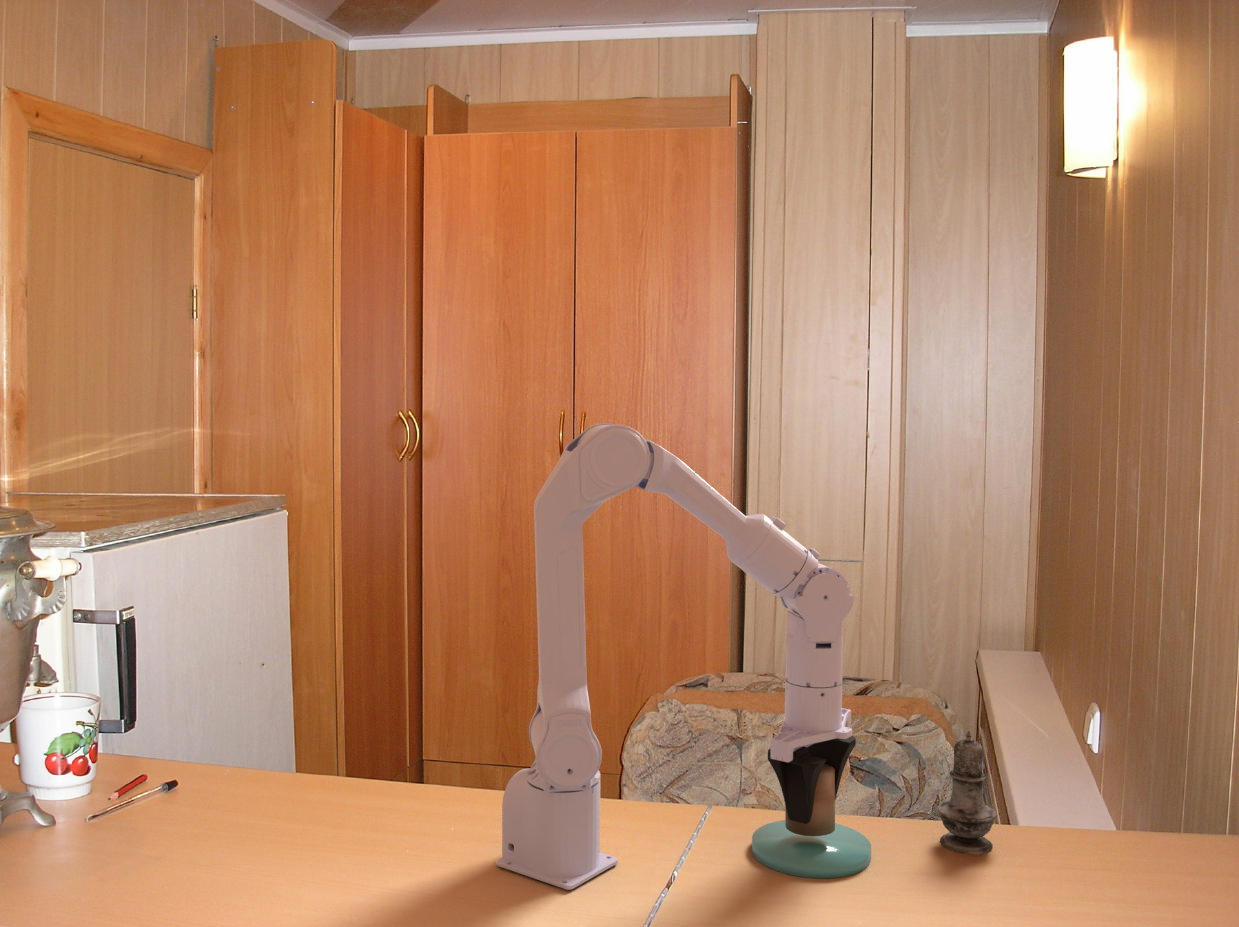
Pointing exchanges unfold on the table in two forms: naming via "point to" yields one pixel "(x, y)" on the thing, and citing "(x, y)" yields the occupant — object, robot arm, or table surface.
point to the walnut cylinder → (819, 808)
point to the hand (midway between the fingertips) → (811, 812)
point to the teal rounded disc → (811, 851)
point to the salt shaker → (967, 802)
